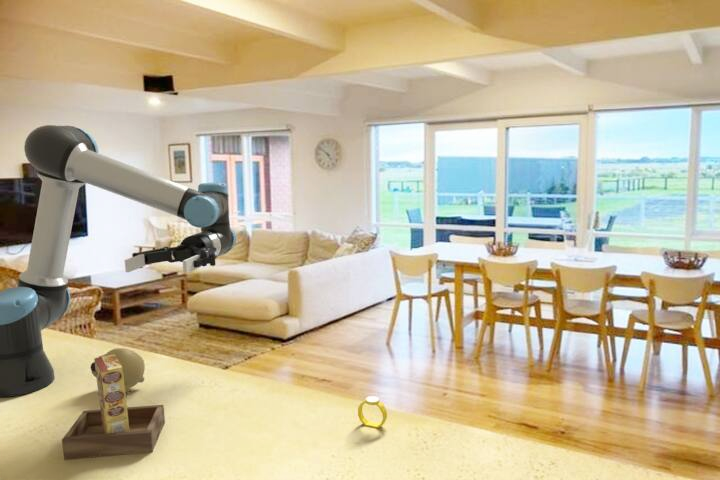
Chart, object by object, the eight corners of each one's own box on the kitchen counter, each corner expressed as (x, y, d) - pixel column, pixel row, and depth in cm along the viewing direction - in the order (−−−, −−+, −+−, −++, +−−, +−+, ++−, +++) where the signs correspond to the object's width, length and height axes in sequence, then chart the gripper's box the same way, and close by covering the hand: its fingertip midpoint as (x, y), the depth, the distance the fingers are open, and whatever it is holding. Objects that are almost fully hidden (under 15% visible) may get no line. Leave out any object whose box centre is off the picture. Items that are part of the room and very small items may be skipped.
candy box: (131, 441, 113) (124, 366, 111) (108, 447, 111) (100, 371, 108) (122, 423, 121) (115, 353, 118) (100, 429, 118) (93, 357, 116)
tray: (85, 428, 121) (83, 410, 120) (164, 422, 123) (163, 404, 122) (64, 459, 109) (61, 439, 108) (152, 451, 111) (150, 432, 110)
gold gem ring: (387, 426, 119) (389, 399, 118) (382, 432, 117) (383, 405, 116) (361, 419, 122) (362, 392, 121) (355, 425, 119) (356, 398, 118)
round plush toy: (115, 379, 146) (111, 338, 144) (154, 384, 142) (151, 343, 140) (85, 395, 137) (80, 352, 135) (126, 401, 133) (122, 357, 131)
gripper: (247, 263, 144) (210, 284, 123) (155, 262, 148) (104, 282, 128) (246, 233, 143) (208, 250, 122) (153, 233, 147) (101, 248, 127)
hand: (155, 266), depth 125 cm, fingers open, 13 cm apart
